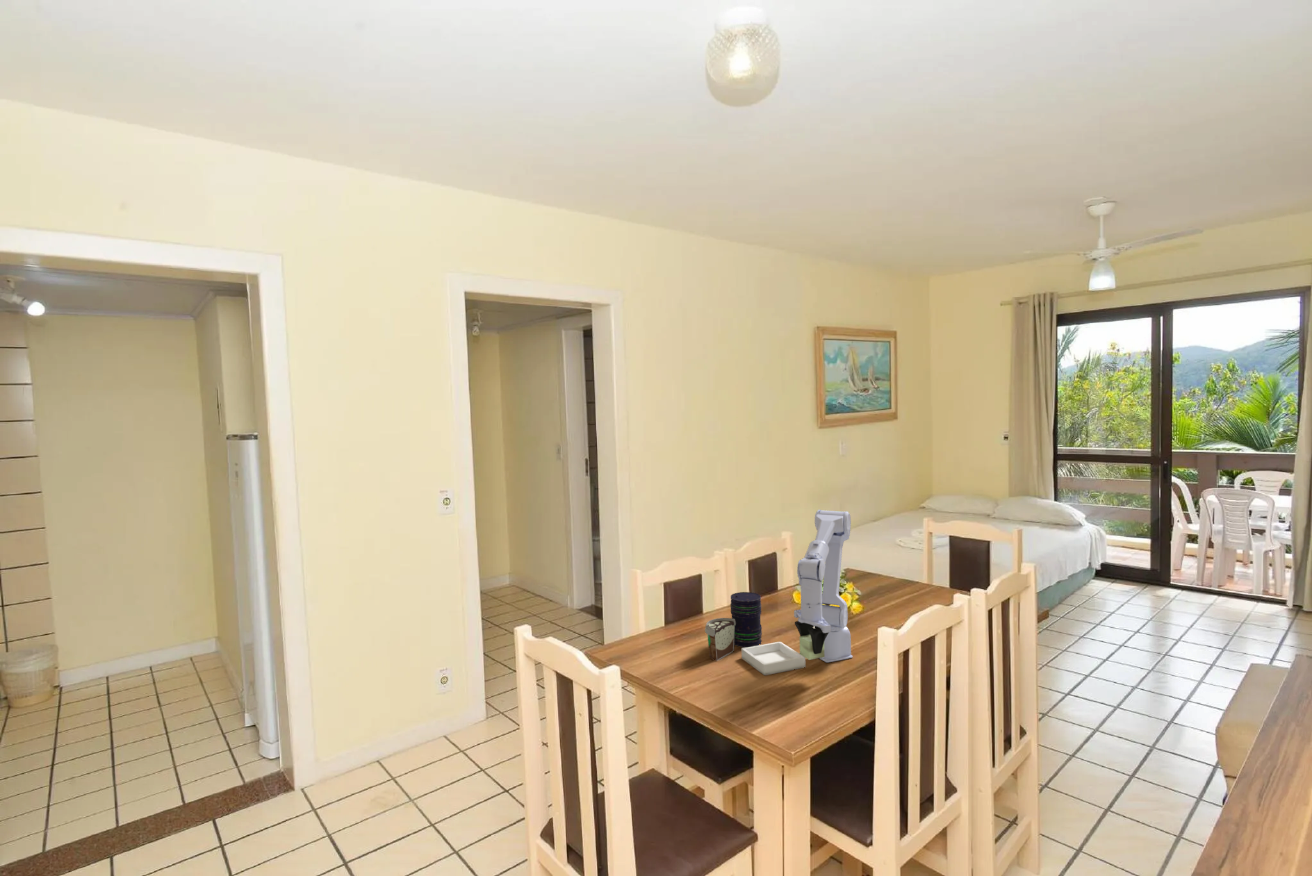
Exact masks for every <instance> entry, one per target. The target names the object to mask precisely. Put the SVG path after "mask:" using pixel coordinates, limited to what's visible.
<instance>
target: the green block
mask: <svg viewBox="0 0 1312 876" xmlns="http://www.w3.org/2000/svg"><path fill="white" fill-rule="evenodd" d="M799 654H800V655H802V656H804V657H805V659H806V660H809V661H810V660H815V659H816V660H817V659H820V658H821V657H824V644H823V648H822V652H821V653H819V654H814V652H813V646H812V639H811V636H810V635H805V636H800V635H799Z"/></svg>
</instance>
